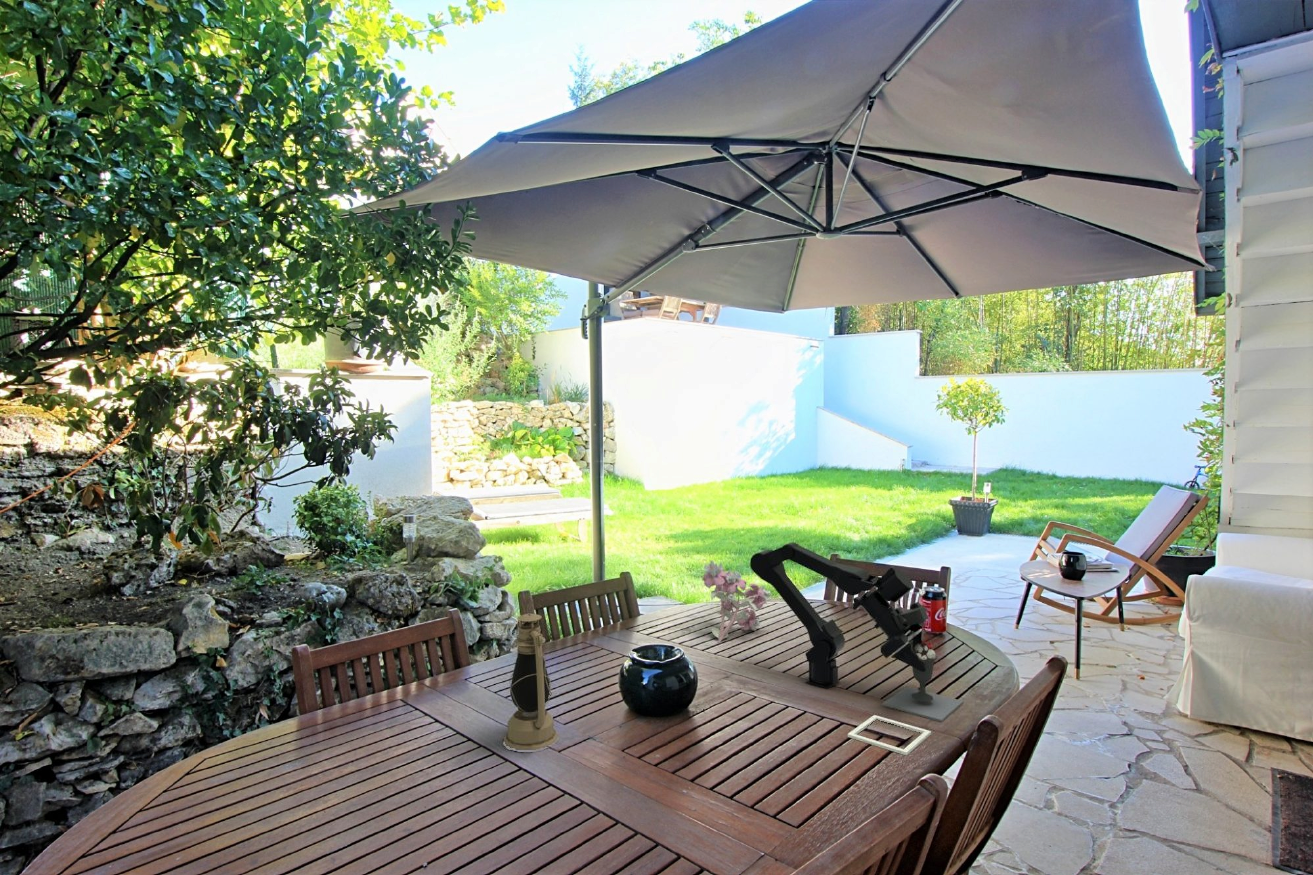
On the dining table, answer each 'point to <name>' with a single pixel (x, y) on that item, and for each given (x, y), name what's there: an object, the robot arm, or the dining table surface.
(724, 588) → the flower
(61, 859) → the dining table surface
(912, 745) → the stand rim
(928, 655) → the sundae
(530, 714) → the lantern
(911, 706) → the mat
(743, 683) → the dining table surface
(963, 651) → the dining table surface
